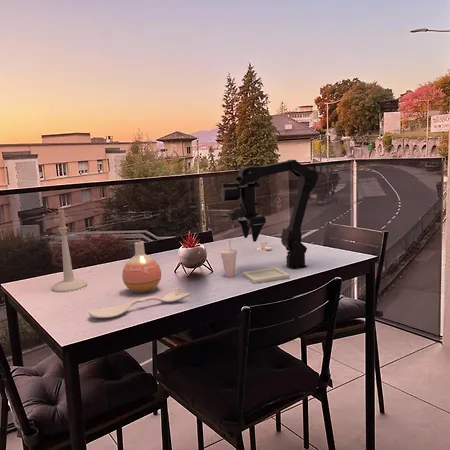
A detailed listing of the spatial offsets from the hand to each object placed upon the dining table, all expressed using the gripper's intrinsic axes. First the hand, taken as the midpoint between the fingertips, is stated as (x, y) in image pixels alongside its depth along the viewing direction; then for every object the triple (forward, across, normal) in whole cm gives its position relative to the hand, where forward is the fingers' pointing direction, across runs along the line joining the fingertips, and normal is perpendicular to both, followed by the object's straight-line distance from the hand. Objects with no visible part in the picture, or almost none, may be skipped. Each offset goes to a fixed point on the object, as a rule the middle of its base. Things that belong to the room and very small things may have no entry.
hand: (250, 239), depth 180 cm
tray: (+13, +9, +2) cm, 16 cm away
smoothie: (+13, 0, -9) cm, 16 cm away
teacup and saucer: (+14, -35, +19) cm, 42 cm away
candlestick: (+14, -16, -68) cm, 71 cm away
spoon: (+14, +22, -47) cm, 53 cm away
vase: (+14, +3, -43) cm, 45 cm away
